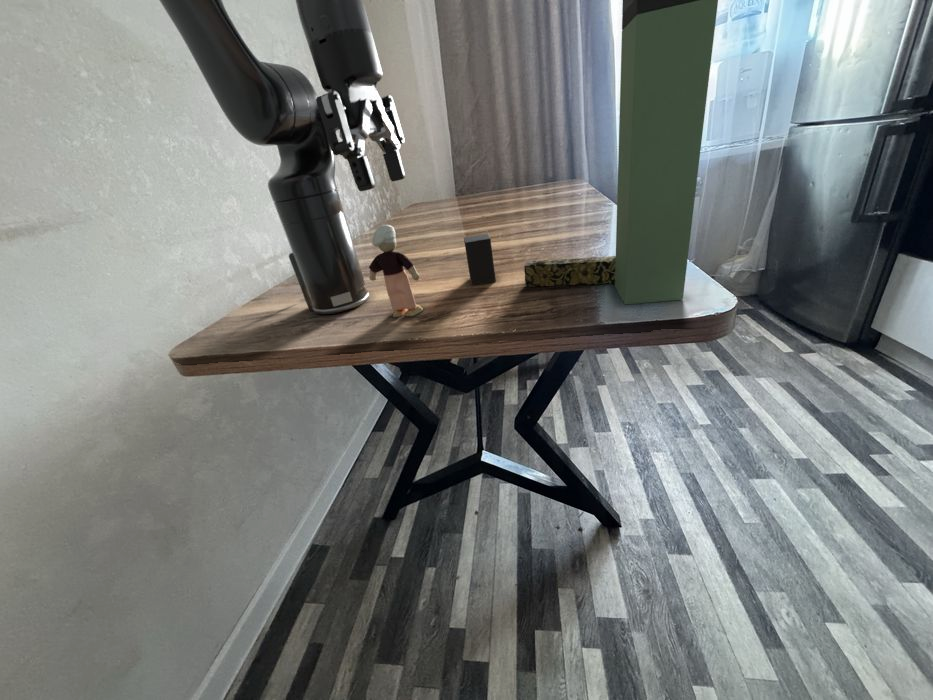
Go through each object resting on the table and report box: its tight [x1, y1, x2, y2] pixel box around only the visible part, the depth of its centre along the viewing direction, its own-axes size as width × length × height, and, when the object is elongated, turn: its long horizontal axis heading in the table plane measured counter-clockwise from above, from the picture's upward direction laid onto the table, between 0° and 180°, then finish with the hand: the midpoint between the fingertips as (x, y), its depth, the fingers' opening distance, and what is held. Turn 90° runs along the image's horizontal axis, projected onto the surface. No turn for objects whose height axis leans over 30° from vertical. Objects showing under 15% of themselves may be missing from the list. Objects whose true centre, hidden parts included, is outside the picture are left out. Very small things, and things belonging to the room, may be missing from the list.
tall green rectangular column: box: [614, 0, 719, 305], centre depth 42 cm, size 7×7×32 cm
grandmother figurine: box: [368, 224, 424, 318], centre depth 54 cm, size 8×4×13 cm, turn 84°
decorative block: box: [523, 255, 616, 288], centre depth 55 cm, size 15×2×4 cm, turn 72°
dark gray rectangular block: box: [463, 233, 497, 287], centre depth 63 cm, size 4×4×7 cm
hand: (383, 184), depth 52 cm, fingers open, 8 cm apart
